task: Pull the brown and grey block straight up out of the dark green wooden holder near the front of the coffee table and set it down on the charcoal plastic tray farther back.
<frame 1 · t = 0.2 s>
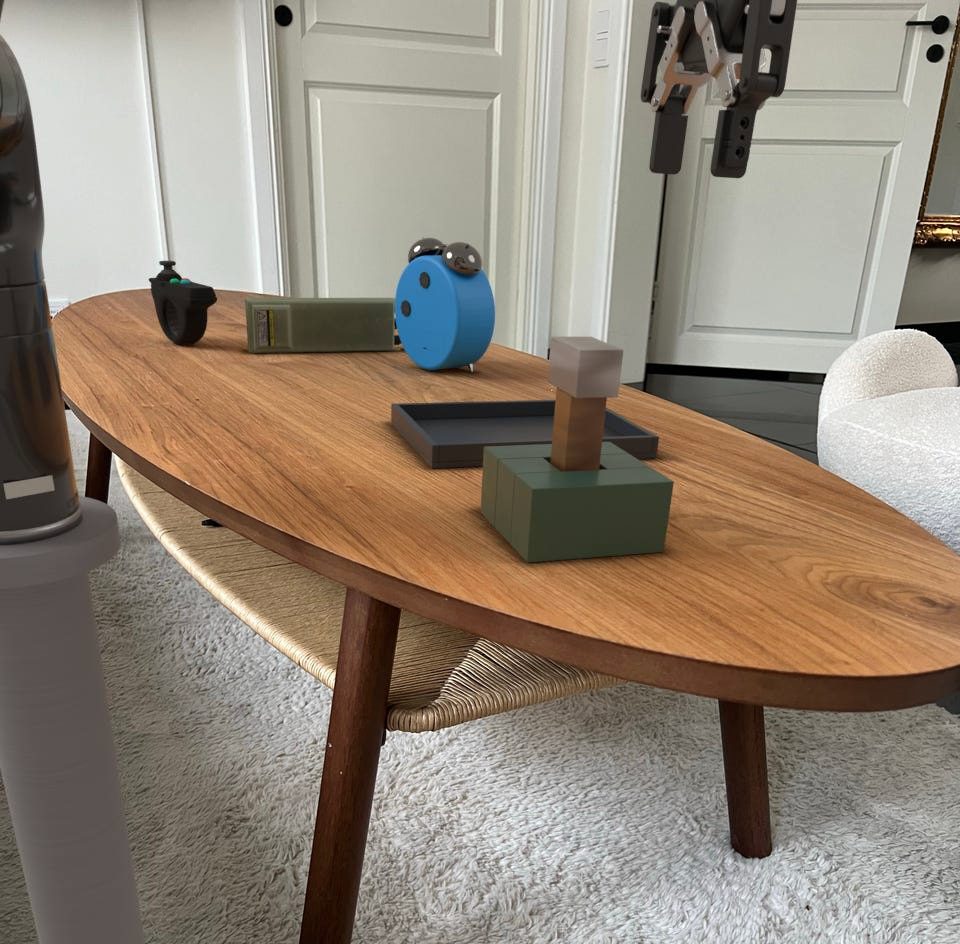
hand: (694, 175, 63), 23 cm above the table, tool pointing down, fingers open, 8 cm apart
controller: (187, 346, 124), on the table
tray: (518, 440, 88), on the table
brown and grey block: (576, 441, 64), in the holder
alarm clock: (441, 370, 117), on the table
holder: (568, 531, 66), on the table
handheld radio: (343, 352, 125), on the table
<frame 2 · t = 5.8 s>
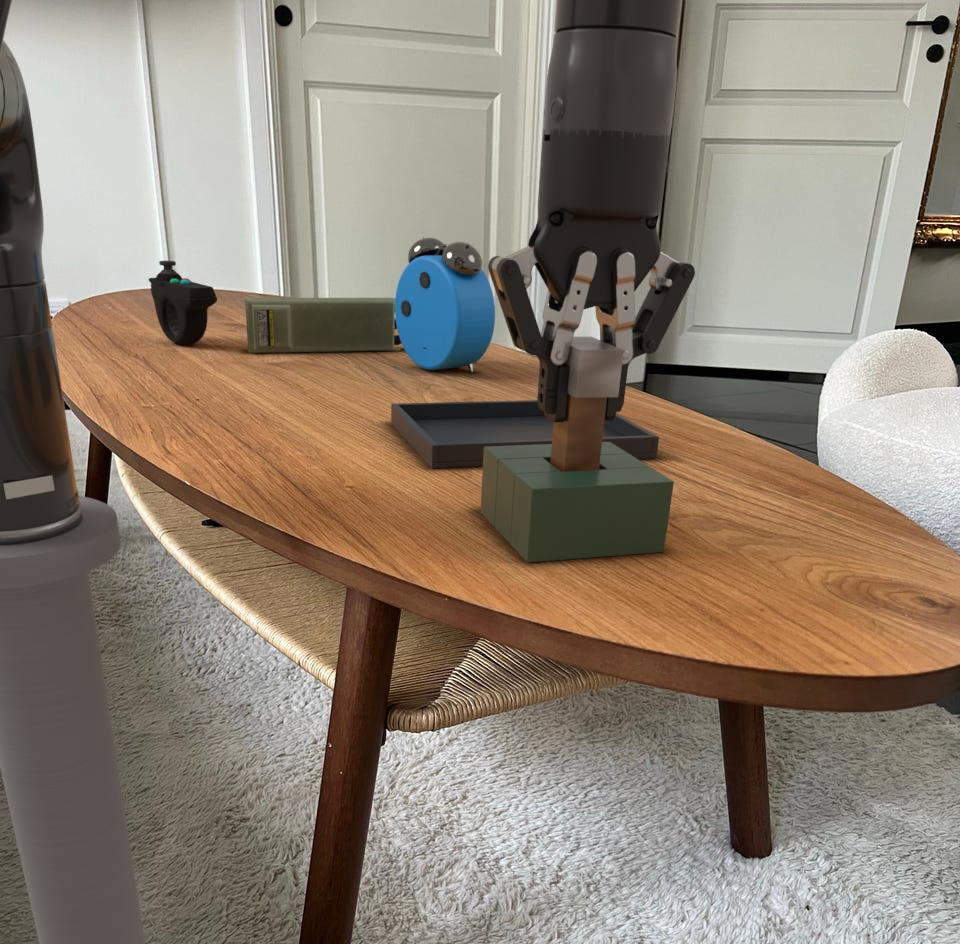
hand: (578, 417, 63), 8 cm above the table, tool pointing down, fingers closed on brown and grey block, 3 cm apart
brown and grey block: (576, 441, 64), in the holder, touching gripper
everything else where it was.
when the fingers open (9 cm above the table, at t = 14.6 s): brown and grey block stays where it is, resting on tray.
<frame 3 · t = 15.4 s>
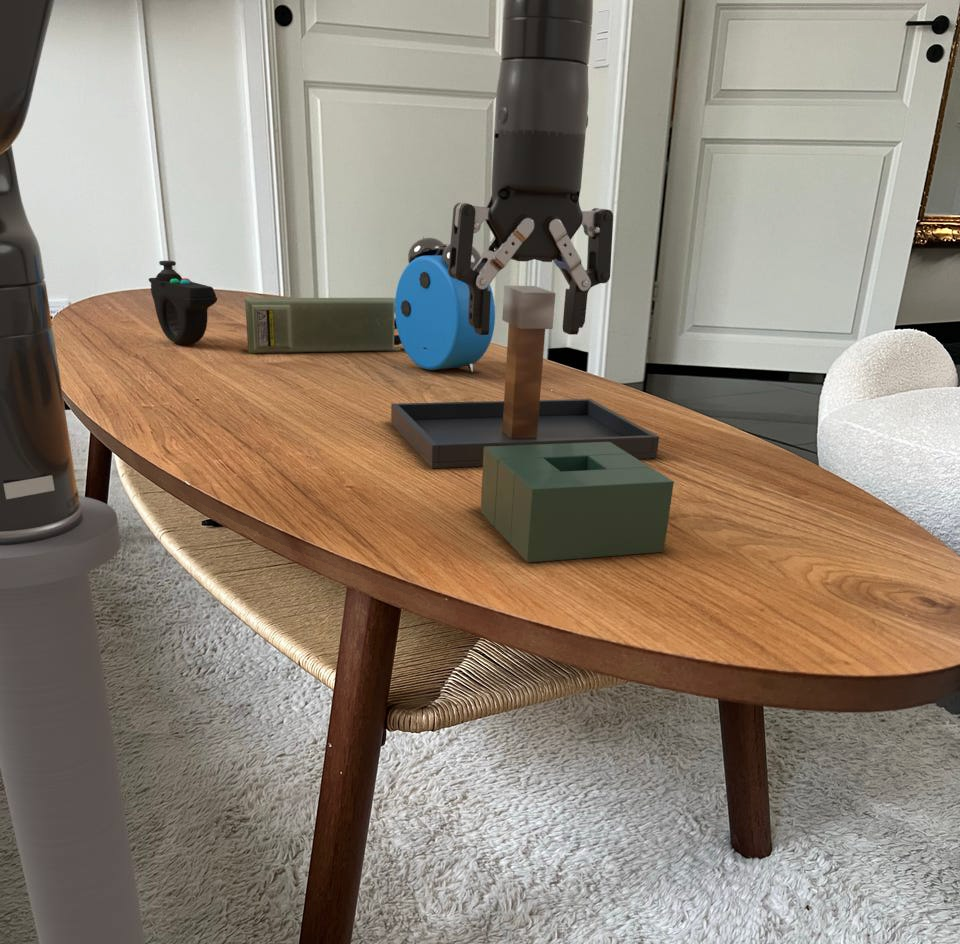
hand: (526, 333, 84), 10 cm above the table, tool pointing down, fingers open, 8 cm apart
brown and grey block: (524, 364, 85), in the tray
everything else where it was.
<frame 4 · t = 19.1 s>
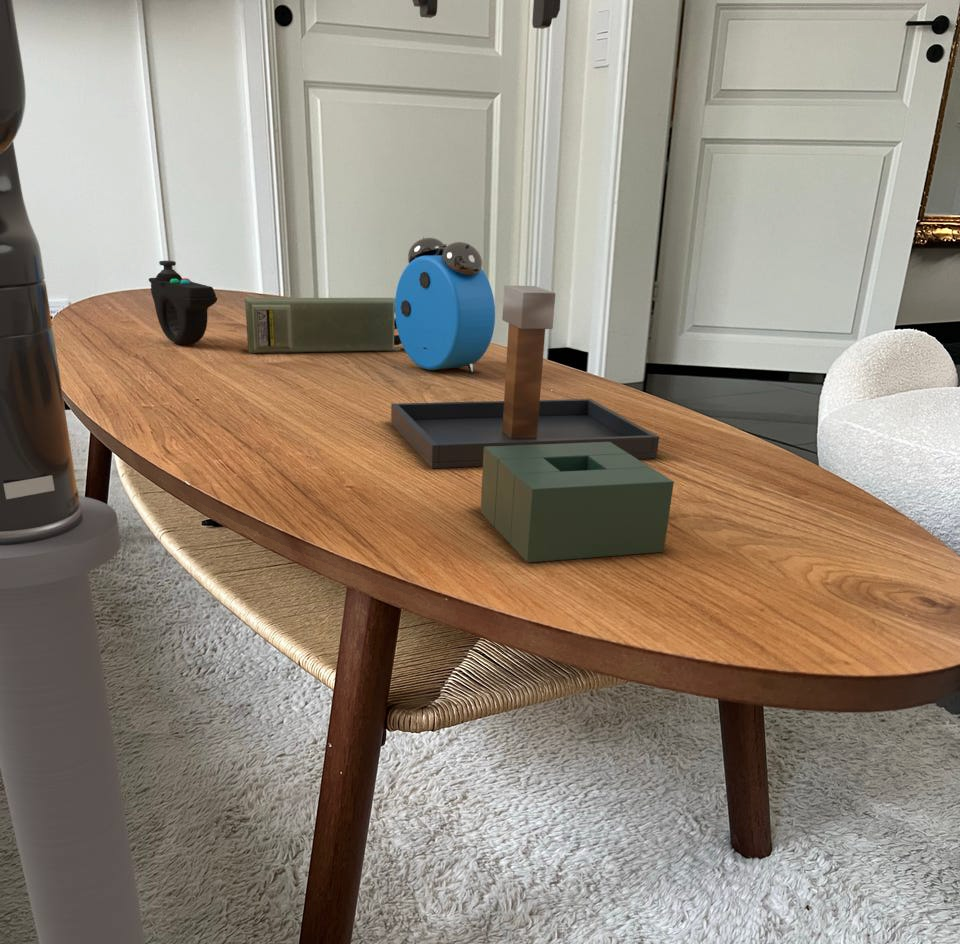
hand: (485, 22, 67), 32 cm above the table, tool pointing down, fingers open, 8 cm apart
nothing on the table moved.
at the end: brown and grey block inside the target area in the tray (0.0 cm from its centre), point 7.0 cm above the tray's base; brown and grey block touching tray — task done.
